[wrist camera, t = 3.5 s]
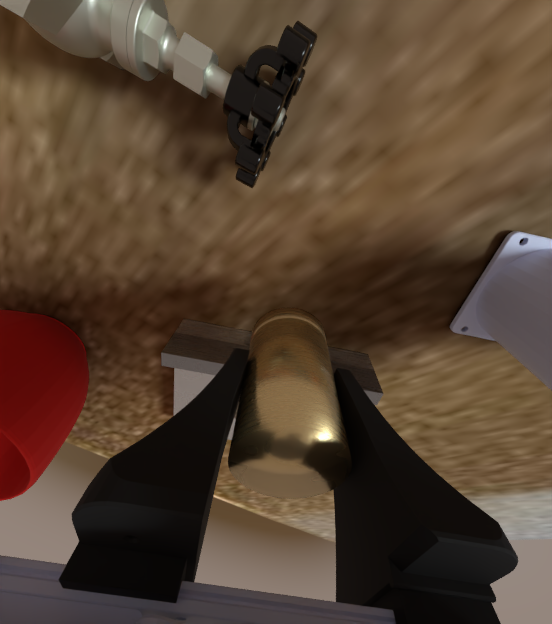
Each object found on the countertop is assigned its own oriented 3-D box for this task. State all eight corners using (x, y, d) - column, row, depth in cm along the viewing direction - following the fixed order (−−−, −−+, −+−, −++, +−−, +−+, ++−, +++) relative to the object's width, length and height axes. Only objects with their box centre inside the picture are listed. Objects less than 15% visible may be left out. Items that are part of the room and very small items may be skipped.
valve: (63, 73, 15) (258, 183, 17) (-78, 21, 9) (243, 196, 11) (77, -102, 12) (312, 60, 14) (-122, -344, 6) (327, -6, 8)
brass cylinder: (335, 316, 14) (372, 438, 8) (313, 373, 16) (329, 505, 10) (258, 300, 14) (236, 415, 8) (246, 360, 16) (220, 489, 10)
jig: (367, 354, 23) (383, 393, 19) (327, 438, 29) (333, 481, 25) (183, 318, 22) (161, 352, 19) (180, 413, 28) (163, 454, 24)
